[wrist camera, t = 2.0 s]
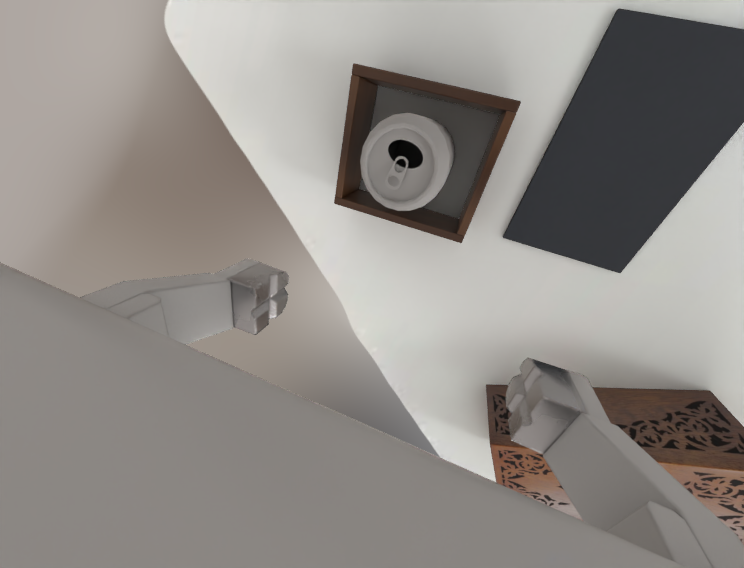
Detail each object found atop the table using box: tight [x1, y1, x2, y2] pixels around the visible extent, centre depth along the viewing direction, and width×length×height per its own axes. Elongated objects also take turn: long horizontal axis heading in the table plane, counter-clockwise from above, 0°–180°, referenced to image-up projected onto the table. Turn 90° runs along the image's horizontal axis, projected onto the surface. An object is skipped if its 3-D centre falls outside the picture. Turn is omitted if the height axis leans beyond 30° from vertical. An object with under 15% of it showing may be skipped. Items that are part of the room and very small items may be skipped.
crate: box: [334, 64, 521, 243], centre depth 29 cm, size 13×15×6 cm
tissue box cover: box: [486, 385, 744, 545], centre depth 37 cm, size 26×14×10 cm, turn 107°
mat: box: [503, 9, 744, 273], centre depth 26 cm, size 20×13×1 cm, turn 168°
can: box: [360, 113, 455, 211], centre depth 26 cm, size 8×8×12 cm
